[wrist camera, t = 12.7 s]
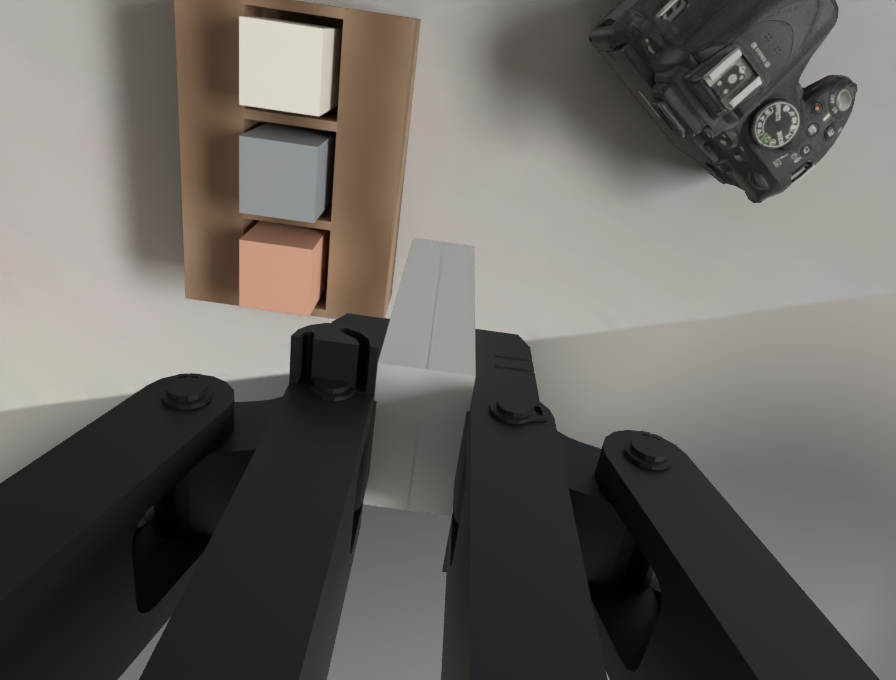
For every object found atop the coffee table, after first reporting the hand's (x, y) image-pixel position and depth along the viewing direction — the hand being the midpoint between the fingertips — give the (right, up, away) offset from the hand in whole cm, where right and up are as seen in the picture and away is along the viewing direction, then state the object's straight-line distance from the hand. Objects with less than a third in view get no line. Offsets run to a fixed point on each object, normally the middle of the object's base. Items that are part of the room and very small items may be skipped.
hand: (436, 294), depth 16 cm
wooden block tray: (-8, +10, +25) cm, 28 cm away
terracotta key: (-9, +4, +25) cm, 27 cm away
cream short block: (-8, +14, +20) cm, 26 cm away
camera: (+15, +15, +22) cm, 30 cm away
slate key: (-8, +9, +23) cm, 26 cm away
